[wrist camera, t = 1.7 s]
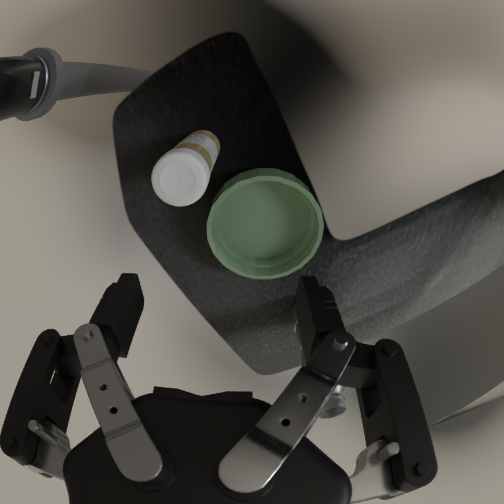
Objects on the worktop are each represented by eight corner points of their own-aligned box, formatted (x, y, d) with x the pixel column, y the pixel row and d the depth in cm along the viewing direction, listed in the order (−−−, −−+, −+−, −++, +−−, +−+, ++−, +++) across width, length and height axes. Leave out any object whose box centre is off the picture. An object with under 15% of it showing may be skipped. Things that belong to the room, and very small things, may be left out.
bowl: (190, 228, 38) (185, 243, 34) (254, 144, 32) (255, 150, 28) (270, 277, 42) (273, 295, 39) (336, 210, 37) (345, 223, 33)
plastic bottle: (284, 318, 47) (299, 424, 30) (294, 288, 44) (317, 402, 27) (319, 320, 48) (343, 421, 31) (331, 292, 44) (366, 398, 28)
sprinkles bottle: (180, 160, 32) (145, 200, 21) (189, 125, 30) (155, 146, 19) (215, 168, 33) (199, 214, 22) (225, 134, 31) (213, 160, 20)
